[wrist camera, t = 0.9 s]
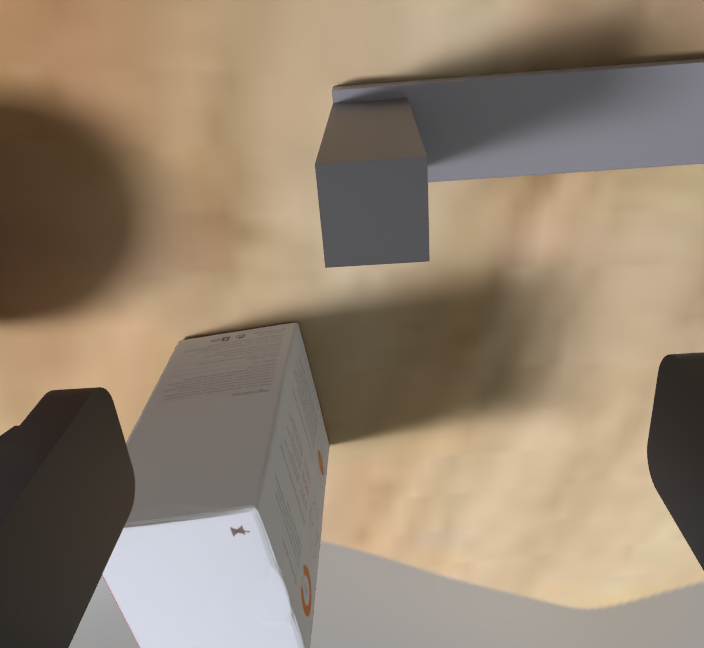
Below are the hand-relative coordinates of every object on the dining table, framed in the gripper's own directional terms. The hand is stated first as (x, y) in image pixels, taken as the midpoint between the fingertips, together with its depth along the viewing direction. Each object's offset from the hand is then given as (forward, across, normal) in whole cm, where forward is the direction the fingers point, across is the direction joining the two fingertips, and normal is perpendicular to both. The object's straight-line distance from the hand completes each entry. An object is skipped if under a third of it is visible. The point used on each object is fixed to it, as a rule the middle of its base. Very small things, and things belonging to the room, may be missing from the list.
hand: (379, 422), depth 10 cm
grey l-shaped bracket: (+21, -7, 0) cm, 22 cm away
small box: (+21, +7, +12) cm, 25 cm away
